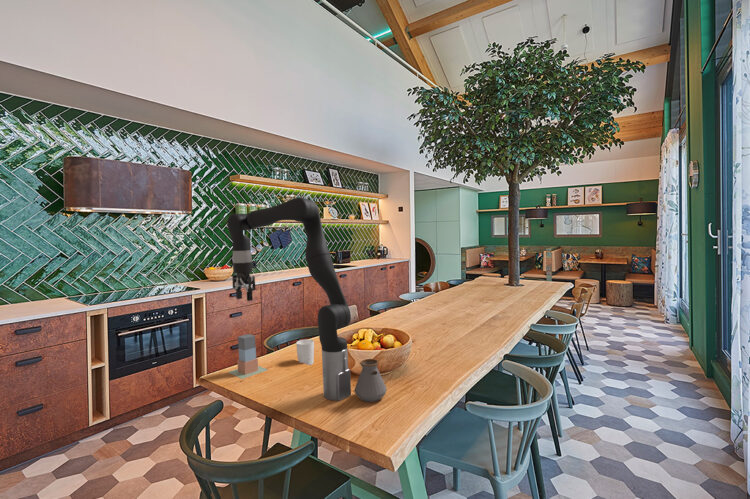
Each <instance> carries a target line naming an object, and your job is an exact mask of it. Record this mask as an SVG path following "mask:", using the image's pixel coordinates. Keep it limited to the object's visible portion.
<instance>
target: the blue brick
mask: <svg viewBox="0 0 750 499" xmlns="http://www.w3.org/2000/svg"><path fill="white" fill-rule="evenodd" d="M256 350H257V347H255V348H252V349H248V350H242V349H239V348H238V360H241V361H243V362H248V361H251V360H254V359H256V358H257V351H256Z"/></svg>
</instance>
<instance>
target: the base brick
mask: <svg viewBox="0 0 750 499" xmlns="http://www.w3.org/2000/svg"><path fill="white" fill-rule="evenodd" d="M236 361H237V362H236V363H237V369H238V372H240V373H242V374H245V375H246V374H249V373H252V372H255V371H258V366H259V361H258V358H257V357H256V359H254V360H251V361H248V362H243V361H241V360H239V359H237V360H236Z"/></svg>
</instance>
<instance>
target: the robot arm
mask: <svg viewBox="0 0 750 499" xmlns="http://www.w3.org/2000/svg"><path fill="white" fill-rule="evenodd" d="M280 221H295V222H298V223H302V225H303V227H304V230H305V234H306V245H305V251H304V253H305V254H304V255H305V257H304V258H305V261H306V265H307V268H308V269H307V270H308V271H309V275H310V276H311V277H312V279H313V280H314V281H315V282H316V283H317V284H318V285H319V286H320V287H321V289H323V291H324V292H325V293H326V296H327V299H328V302H329V304H327V305H324V306H321V307H320V309H319V310H318V313H317V326H318V327H317V328H318V338H319V343H320V344H321V362H322V363H321V364H322V365H321V366H322V367H321V368H322V389H323V398H325V399H326V400H329V401H338V402H340V401H343V400H344V399H346V398H348V397H350V396H351V395H352V383H351V381H352V379H351V369H350V368H349V361H348V360H349V359H348V358H349V356H348V341H347V339H346V338H344V337H340V336H338V330H341V329H344V328H346V327H348V326H349V325H350V323H351V320H352V315H351V310H350V306H349V304H348V302H347V300H346V297H345V296H344V295H345V294H344V293H343V290H342V287H341V284H340V282H339V279H338V276H337V272H336V270H335V267H334V262H333V258H332V256H331V253H330V249H329V247H328V244H327V240H326V237H325V236H326V235H325V234H324V230H323V225H322V220H321V214H320V209H319V207H318V205H317V203H316V202H315V201H313V200H310V199H308V198H305V197H299V196H298V197H295V198H291V199H289V200H287V201H285V202H282V203H280V204H277V205H274V206H269V207H265V208H260V209H255V210H252V211H250V212H248V213H231V214H230V215H229V216H228V218H227V221H226V225H227V230H228V233H229V235H230V238H231V241H232V271H233V274H232V278H231V279H232V289H234V290H235V294H236V299H237V300H240V299H243V292H242V288H244V289H245V291H246V301H247V302H251V301H253V298H254V297H253V292H254V291H255V290H257V289H256V277H255V275H251V274H250V273H252V272H253V258H252V251H251V250H252V249H251V239H250V237H249V236H246V235H244V232H243V231H250V230H254V229H257V228H262V227H269V226H272V225H273V224H275V223H277V222H280Z"/></svg>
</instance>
